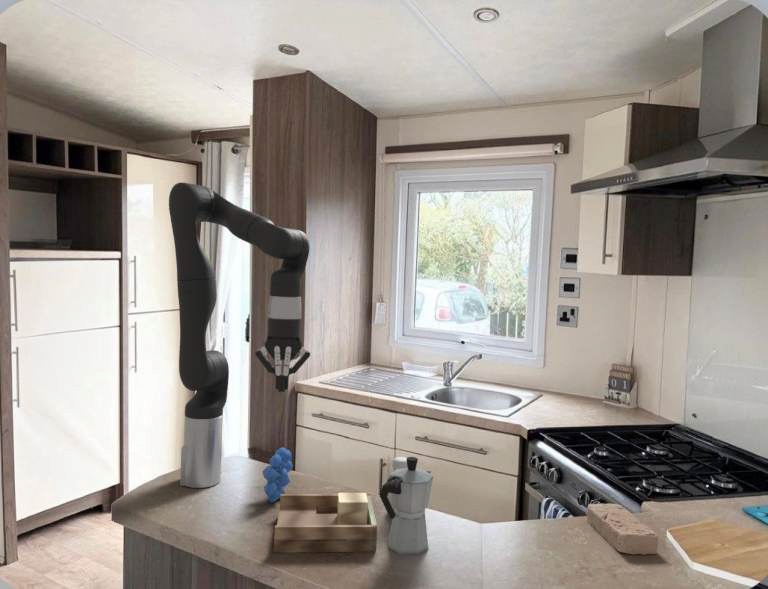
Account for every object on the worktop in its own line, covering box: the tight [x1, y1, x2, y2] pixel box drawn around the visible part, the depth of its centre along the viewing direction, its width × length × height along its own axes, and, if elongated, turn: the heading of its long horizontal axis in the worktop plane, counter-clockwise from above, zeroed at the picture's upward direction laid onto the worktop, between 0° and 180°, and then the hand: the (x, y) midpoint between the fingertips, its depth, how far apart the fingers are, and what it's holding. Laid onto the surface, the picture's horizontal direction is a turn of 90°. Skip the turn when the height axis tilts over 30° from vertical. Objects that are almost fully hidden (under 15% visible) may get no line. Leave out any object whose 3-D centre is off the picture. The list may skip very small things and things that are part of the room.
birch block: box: [337, 492, 368, 525], centre depth 118 cm, size 6×5×5 cm
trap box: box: [273, 493, 378, 553], centre depth 117 cm, size 20×16×5 cm
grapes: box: [262, 446, 294, 503], centre depth 134 cm, size 12×7×12 cm, turn 165°
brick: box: [586, 503, 659, 556], centre depth 122 cm, size 17×8×5 cm, turn 5°
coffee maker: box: [378, 456, 434, 556], centre depth 113 cm, size 15×9×18 cm, turn 135°
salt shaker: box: [387, 456, 408, 510], centre depth 128 cm, size 6×6×13 cm
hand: (281, 391), depth 128 cm, fingers closed
